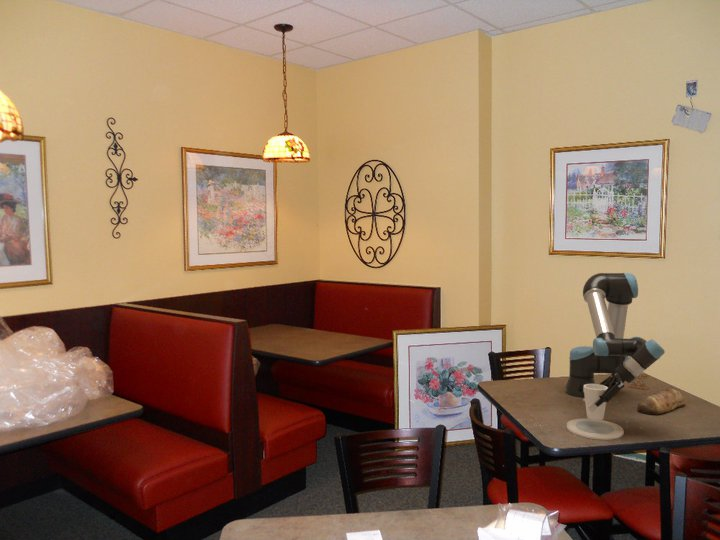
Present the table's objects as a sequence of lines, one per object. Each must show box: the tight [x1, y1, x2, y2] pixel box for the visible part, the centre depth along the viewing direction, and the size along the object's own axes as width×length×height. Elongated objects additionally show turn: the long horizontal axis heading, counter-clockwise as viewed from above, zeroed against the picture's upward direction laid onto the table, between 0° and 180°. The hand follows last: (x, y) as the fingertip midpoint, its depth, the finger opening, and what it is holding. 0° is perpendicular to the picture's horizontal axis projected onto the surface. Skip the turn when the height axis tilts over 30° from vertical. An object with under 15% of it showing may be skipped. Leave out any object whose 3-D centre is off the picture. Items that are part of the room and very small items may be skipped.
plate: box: [566, 417, 625, 441], centre depth 241 cm, size 22×22×1 cm
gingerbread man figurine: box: [628, 371, 650, 391], centre depth 301 cm, size 9×4×12 cm, turn 50°
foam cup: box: [583, 383, 608, 420], centre depth 240 cm, size 10×9×13 cm
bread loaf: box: [637, 388, 686, 416], centre depth 269 cm, size 35×18×9 cm, turn 134°
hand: (587, 406), depth 241 cm, fingers closed on foam cup, 9 cm apart
